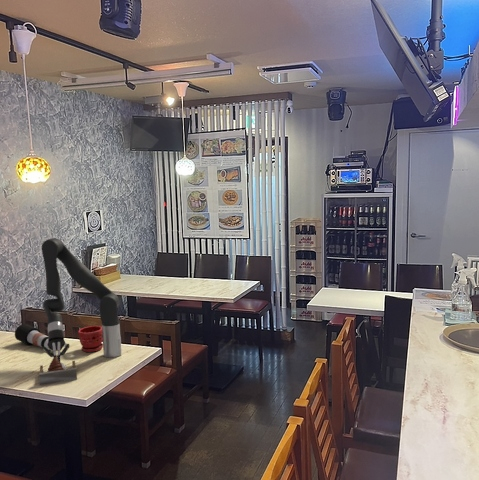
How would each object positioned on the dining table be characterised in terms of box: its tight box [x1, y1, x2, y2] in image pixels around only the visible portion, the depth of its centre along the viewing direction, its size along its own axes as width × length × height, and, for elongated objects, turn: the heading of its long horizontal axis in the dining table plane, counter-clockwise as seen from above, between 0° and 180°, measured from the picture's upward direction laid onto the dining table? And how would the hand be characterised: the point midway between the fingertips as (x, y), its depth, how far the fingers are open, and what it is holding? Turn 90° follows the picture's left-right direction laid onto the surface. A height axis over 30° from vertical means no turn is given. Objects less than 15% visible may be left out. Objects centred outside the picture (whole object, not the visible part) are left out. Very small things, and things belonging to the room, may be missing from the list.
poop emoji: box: [46, 357, 67, 372], centre depth 229 cm, size 10×8×9 cm
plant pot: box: [78, 325, 103, 353], centre depth 265 cm, size 13×13×12 cm
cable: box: [14, 323, 52, 351], centre depth 272 cm, size 10×34×10 cm, turn 54°
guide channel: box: [38, 360, 78, 386], centre depth 230 cm, size 20×16×5 cm
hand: (57, 363), depth 234 cm, fingers closed
